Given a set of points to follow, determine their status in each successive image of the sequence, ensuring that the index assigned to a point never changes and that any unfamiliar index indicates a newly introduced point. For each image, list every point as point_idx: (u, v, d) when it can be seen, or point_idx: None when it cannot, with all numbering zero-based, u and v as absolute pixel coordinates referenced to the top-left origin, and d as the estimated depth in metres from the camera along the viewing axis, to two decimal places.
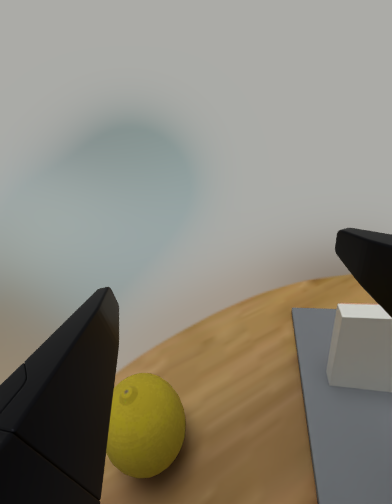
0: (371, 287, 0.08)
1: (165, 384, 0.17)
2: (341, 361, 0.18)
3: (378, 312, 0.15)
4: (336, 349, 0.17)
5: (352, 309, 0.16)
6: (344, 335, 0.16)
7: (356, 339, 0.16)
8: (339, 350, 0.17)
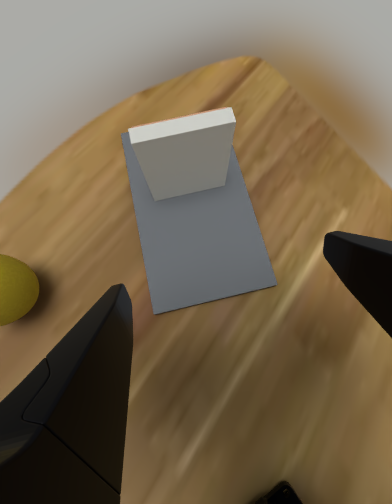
0: (357, 290, 0.08)
1: None
2: (152, 181, 0.20)
3: (162, 130, 0.16)
4: (143, 173, 0.19)
5: (141, 132, 0.16)
6: (142, 159, 0.17)
7: (154, 160, 0.18)
8: (146, 173, 0.19)
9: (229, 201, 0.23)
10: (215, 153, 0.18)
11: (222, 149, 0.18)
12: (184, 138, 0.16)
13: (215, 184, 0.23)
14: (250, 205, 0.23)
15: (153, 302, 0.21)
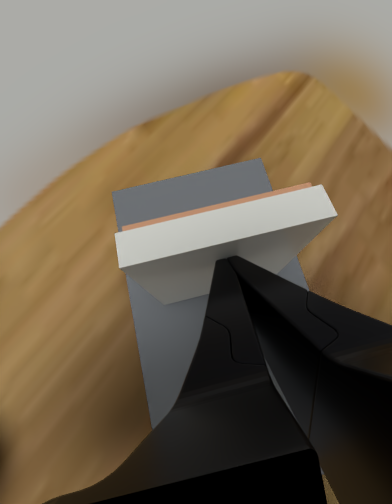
0: None
1: None
2: (162, 293, 0.12)
3: (184, 236, 0.08)
4: (145, 289, 0.10)
5: (140, 241, 0.08)
6: (144, 279, 0.09)
7: (165, 276, 0.09)
8: (151, 289, 0.10)
9: None
10: (276, 254, 0.10)
11: (290, 249, 0.10)
12: (228, 247, 0.08)
13: None
14: None
15: None
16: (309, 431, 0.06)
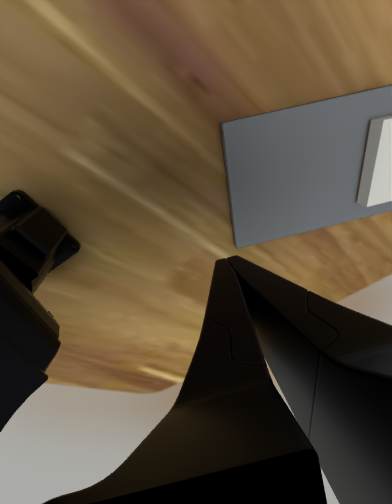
0: None
1: None
2: None
3: None
4: None
5: None
6: None
7: None
8: None
9: (322, 209, 0.23)
10: None
11: None
12: None
13: (376, 195, 0.21)
14: (312, 228, 0.24)
15: (235, 122, 0.18)
16: (309, 431, 0.06)
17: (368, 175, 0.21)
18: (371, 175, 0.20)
